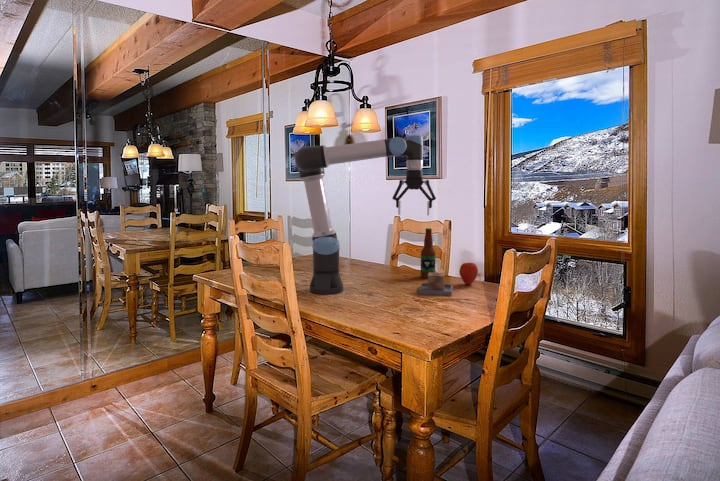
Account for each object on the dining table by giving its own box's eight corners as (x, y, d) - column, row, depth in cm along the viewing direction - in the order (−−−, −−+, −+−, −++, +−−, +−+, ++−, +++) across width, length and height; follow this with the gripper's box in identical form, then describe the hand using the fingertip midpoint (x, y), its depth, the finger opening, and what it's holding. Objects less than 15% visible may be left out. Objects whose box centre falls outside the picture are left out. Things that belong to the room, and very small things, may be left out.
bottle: (418, 278, 233) (419, 228, 229) (423, 275, 239) (423, 227, 236) (432, 279, 230) (433, 229, 226) (436, 276, 236) (437, 228, 233)
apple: (466, 287, 213) (466, 264, 211) (455, 283, 221) (455, 261, 219) (481, 285, 216) (482, 262, 215) (469, 281, 224) (470, 260, 223)
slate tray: (418, 293, 201) (418, 289, 201) (421, 286, 214) (421, 282, 214) (451, 295, 198) (451, 291, 198) (452, 288, 211) (452, 284, 211)
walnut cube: (427, 291, 203) (427, 275, 203) (428, 287, 210) (429, 272, 209) (443, 291, 202) (444, 276, 201) (444, 288, 209) (444, 273, 208)
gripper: (386, 169, 214) (386, 215, 217) (441, 169, 209) (440, 216, 212) (389, 169, 221) (389, 213, 224) (442, 169, 216) (440, 214, 219)
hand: (413, 215), depth 218 cm, fingers open, 13 cm apart
